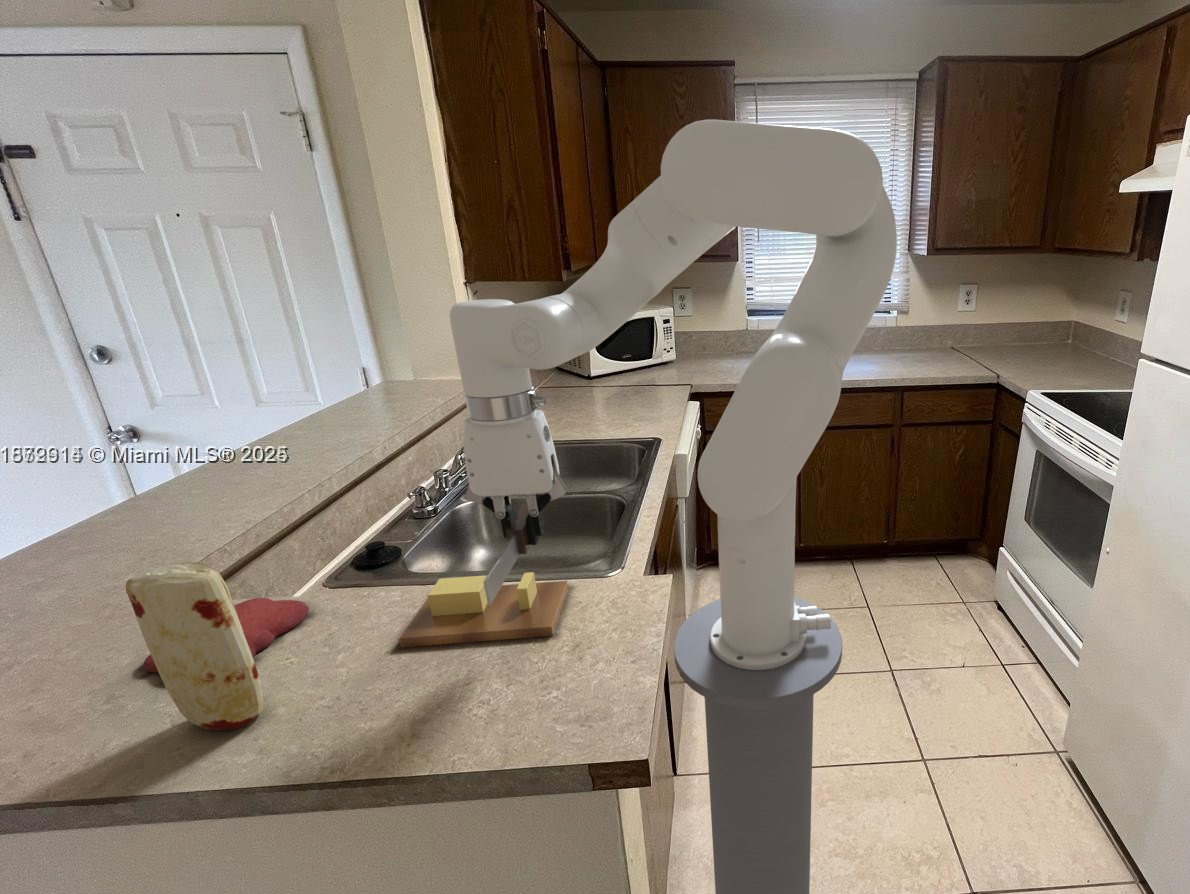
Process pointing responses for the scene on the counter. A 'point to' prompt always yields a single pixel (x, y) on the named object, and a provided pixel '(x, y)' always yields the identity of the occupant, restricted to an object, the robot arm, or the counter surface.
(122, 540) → the counter surface
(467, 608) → the butter
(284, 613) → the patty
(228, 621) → the food model
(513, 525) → the knife
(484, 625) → the cutting board
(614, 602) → the counter surface
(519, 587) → the butter pat
